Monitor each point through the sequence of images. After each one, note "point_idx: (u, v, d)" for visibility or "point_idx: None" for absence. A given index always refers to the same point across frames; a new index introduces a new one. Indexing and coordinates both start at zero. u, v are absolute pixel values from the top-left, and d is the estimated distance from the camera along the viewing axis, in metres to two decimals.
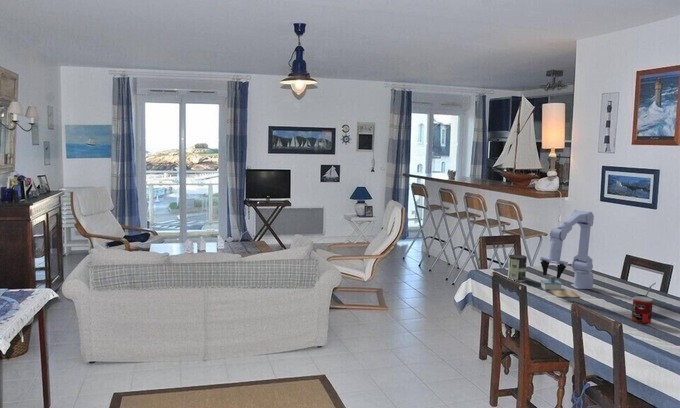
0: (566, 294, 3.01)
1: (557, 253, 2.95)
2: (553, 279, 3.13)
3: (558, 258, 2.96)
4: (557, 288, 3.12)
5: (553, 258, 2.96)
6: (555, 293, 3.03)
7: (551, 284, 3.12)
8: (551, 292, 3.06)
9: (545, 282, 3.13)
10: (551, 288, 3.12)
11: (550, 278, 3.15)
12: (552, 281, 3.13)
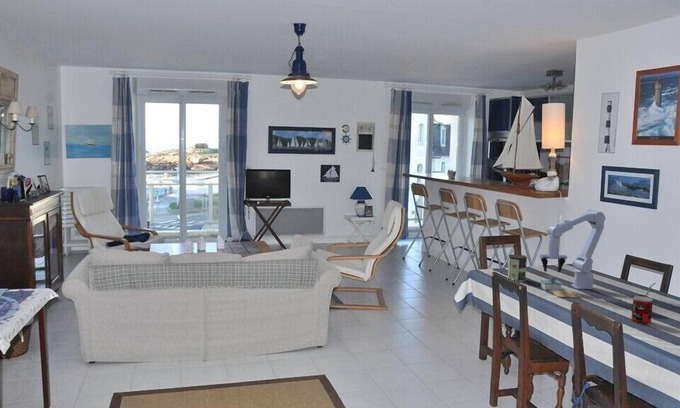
0: (566, 294, 3.01)
1: (558, 249, 3.11)
2: (553, 279, 3.13)
3: (558, 253, 3.12)
4: (557, 288, 3.12)
5: (556, 255, 3.10)
6: (555, 293, 3.03)
7: (551, 284, 3.12)
8: (551, 292, 3.06)
9: (545, 282, 3.13)
10: (551, 288, 3.12)
11: (550, 278, 3.15)
12: (552, 281, 3.13)
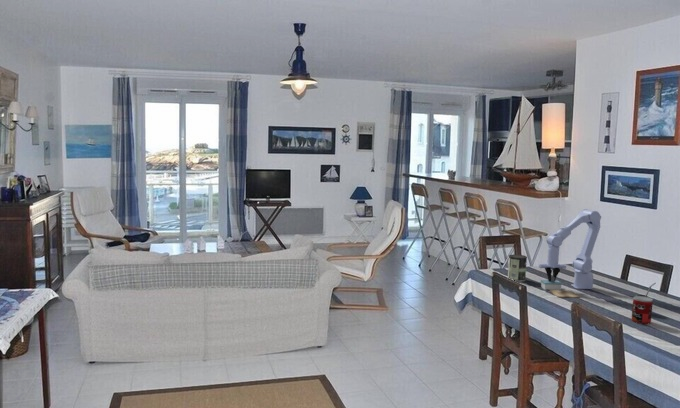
0: (566, 294, 3.01)
1: (558, 259, 3.12)
2: (553, 279, 3.13)
3: None
4: (557, 288, 3.12)
5: (556, 264, 3.11)
6: (555, 293, 3.03)
7: (551, 284, 3.12)
8: (551, 292, 3.06)
9: (545, 282, 3.13)
10: (551, 288, 3.12)
11: None
12: (552, 281, 3.13)
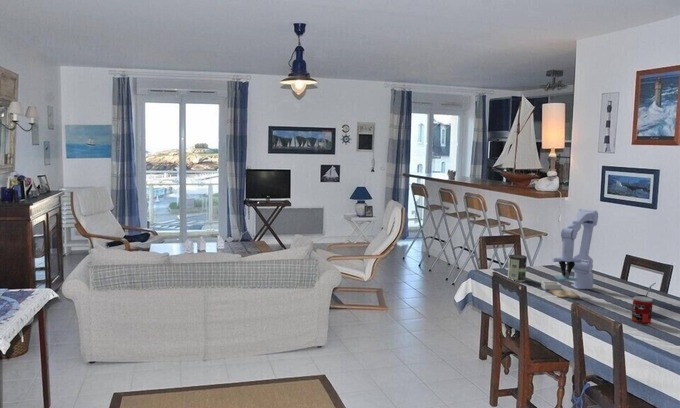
0: (566, 294, 3.01)
1: None
2: (568, 275, 3.00)
3: (572, 257, 3.00)
4: (557, 288, 3.12)
5: (570, 258, 2.98)
6: (555, 293, 3.03)
7: (565, 280, 2.99)
8: (551, 292, 3.06)
9: (559, 278, 3.00)
10: (551, 288, 3.12)
11: None
12: (566, 277, 3.00)
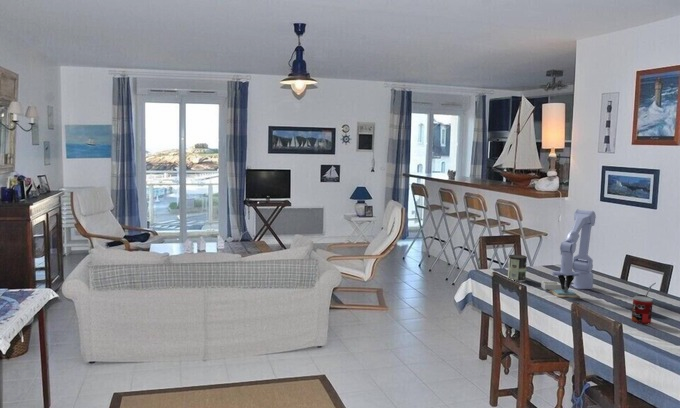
0: None
1: (572, 266, 3.00)
2: (567, 290, 3.01)
3: (571, 270, 3.01)
4: (557, 288, 3.12)
5: (569, 272, 2.99)
6: (555, 293, 3.03)
7: (564, 294, 3.00)
8: (551, 292, 3.06)
9: (558, 292, 3.01)
10: (551, 288, 3.12)
11: None
12: (565, 291, 3.01)
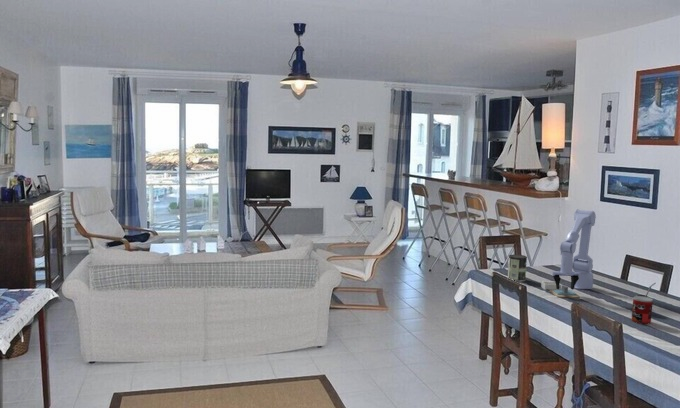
0: None
1: (572, 266, 3.00)
2: (567, 290, 3.01)
3: (571, 270, 3.01)
4: None
5: (569, 272, 2.99)
6: (555, 293, 3.03)
7: (564, 294, 3.00)
8: (551, 292, 3.06)
9: (558, 292, 3.01)
10: (551, 288, 3.12)
11: (563, 288, 3.03)
12: (565, 291, 3.01)
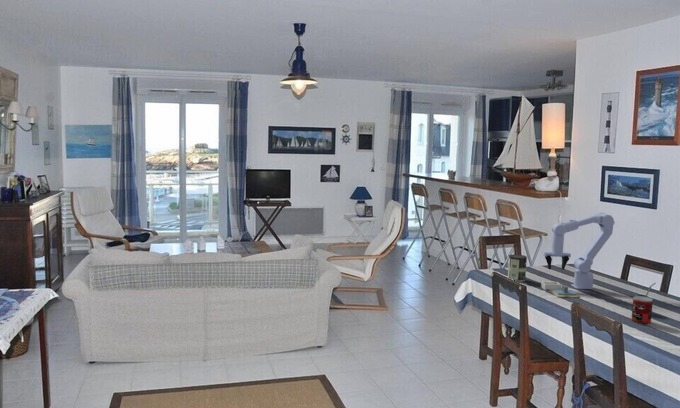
0: None
1: (562, 247, 3.16)
2: (567, 290, 3.01)
3: (562, 251, 3.17)
4: (557, 288, 3.12)
5: (560, 253, 3.15)
6: (555, 293, 3.03)
7: (564, 294, 3.00)
8: (551, 292, 3.06)
9: (558, 292, 3.01)
10: (551, 288, 3.12)
11: (563, 288, 3.03)
12: (565, 291, 3.01)
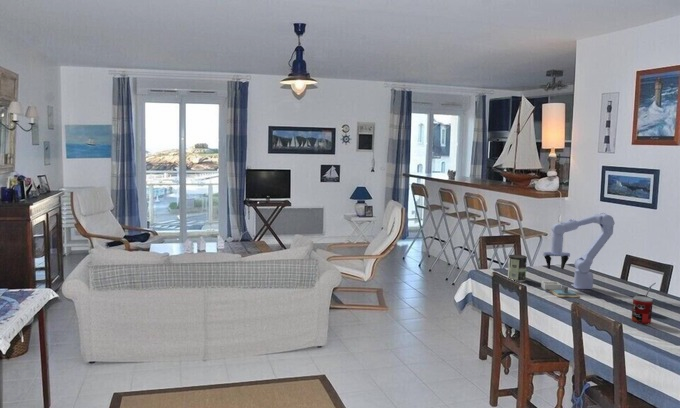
0: None
1: None
2: (567, 290, 3.01)
3: None
4: (557, 288, 3.12)
5: (560, 252, 3.16)
6: (555, 293, 3.03)
7: (564, 294, 3.00)
8: (551, 292, 3.06)
9: (558, 292, 3.01)
10: (551, 288, 3.12)
11: (563, 288, 3.03)
12: (565, 291, 3.01)
